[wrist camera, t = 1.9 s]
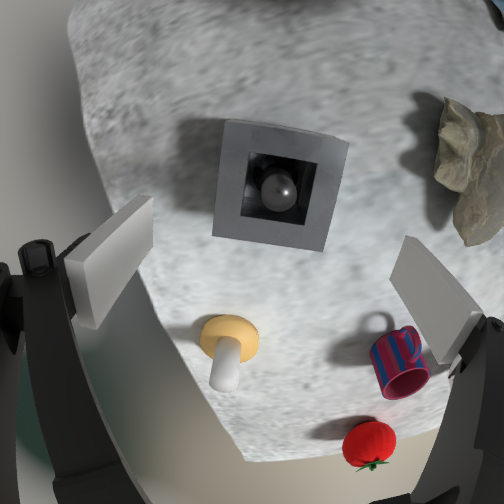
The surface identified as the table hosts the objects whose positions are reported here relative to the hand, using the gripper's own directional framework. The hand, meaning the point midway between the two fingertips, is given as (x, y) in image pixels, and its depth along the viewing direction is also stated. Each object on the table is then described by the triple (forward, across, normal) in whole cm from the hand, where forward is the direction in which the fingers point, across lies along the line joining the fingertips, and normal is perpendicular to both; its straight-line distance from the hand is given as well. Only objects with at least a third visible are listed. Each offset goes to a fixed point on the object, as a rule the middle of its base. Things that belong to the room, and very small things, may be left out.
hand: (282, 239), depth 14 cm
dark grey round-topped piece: (+13, 0, 0) cm, 13 cm away
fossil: (+13, +19, +6) cm, 24 cm away
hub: (+13, -2, -20) cm, 24 cm away
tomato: (+14, +26, -42) cm, 51 cm away
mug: (+13, +20, -18) cm, 30 cm away
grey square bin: (+13, 0, 0) cm, 13 cm away
